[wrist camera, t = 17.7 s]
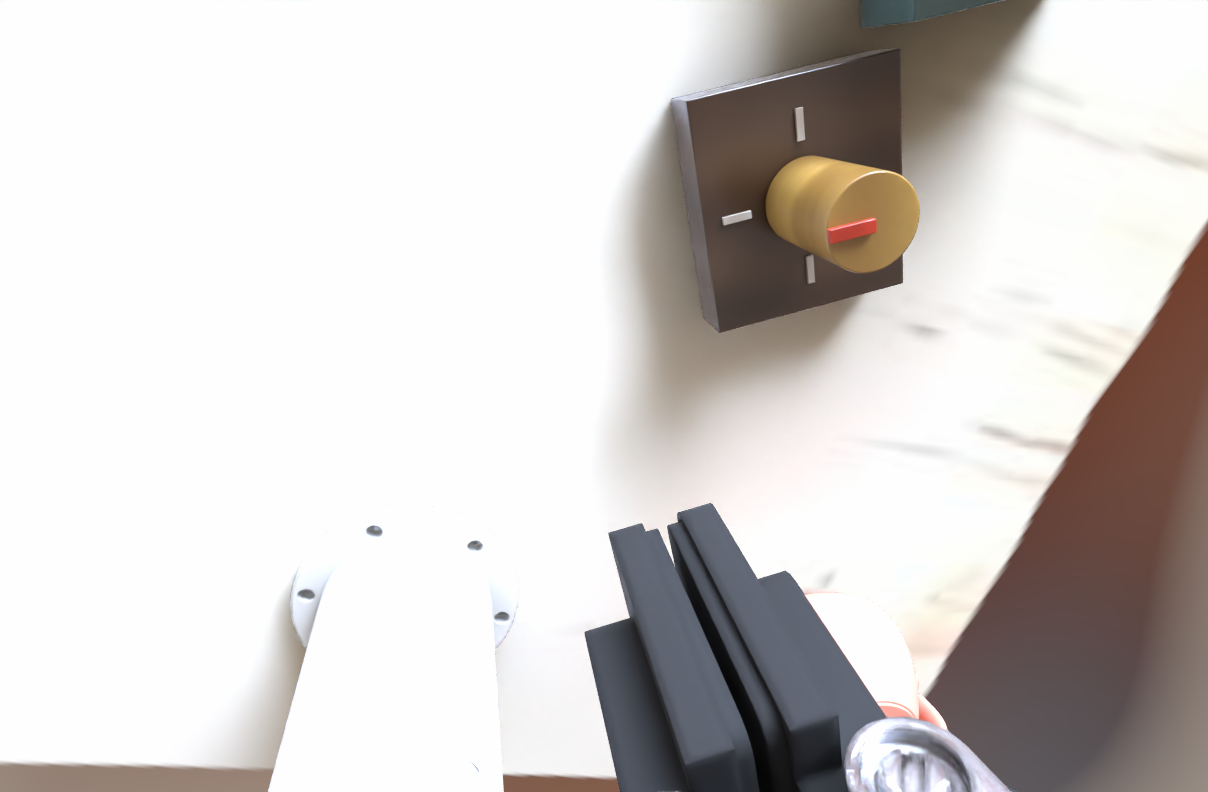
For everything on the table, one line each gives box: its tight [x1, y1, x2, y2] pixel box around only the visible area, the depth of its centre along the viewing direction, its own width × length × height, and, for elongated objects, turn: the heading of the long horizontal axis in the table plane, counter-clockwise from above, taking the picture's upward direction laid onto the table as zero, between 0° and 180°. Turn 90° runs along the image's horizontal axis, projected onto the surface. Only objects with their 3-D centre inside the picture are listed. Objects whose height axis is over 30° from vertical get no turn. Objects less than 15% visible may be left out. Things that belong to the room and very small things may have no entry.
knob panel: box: [671, 48, 903, 333], centre depth 33 cm, size 11×10×3 cm
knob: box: [766, 156, 920, 273], centre depth 29 cm, size 4×4×6 cm
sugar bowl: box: [804, 592, 947, 730], centre depth 44 cm, size 12×14×10 cm
